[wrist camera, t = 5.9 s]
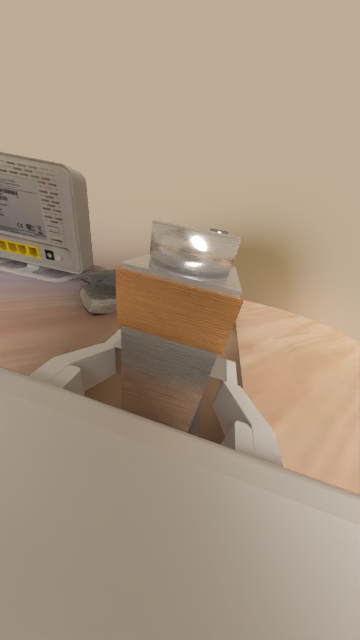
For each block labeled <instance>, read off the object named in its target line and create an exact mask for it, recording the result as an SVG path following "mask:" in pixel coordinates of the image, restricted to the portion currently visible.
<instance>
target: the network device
mask: <svg viewBox="0 0 360 640" xmlns="http://www.w3.org/2000/svg"><path fill="white" fill-rule="evenodd" d="M0 257H3V258H1V259H0V263H5V262H11V261H21V262H25V263H27V266H26V267H24V268H9V267H4V266H0V270H1V271H5V272H10V273H14V274H19V275H23V276H27V277H32V278H36V279H40V280H45V281H49V282H67V281H70V280H73V279H76V278H78V275H80V274H82V273H84V272H86V271H89V270H91V269H92V268H93V257H92V244H91V233H90V222H89V210H88V199H87V187H86V180H85V178H84V176H83V175H82V173H81V172H79V171H77V170H75V169H72V168H70V167H68V166H65V165H63V164H59V163H54V162H49V161H44V160H39V159H34V158H28V157H23V156H19V155H13V154H8V153H3V152H0ZM50 269H56V270H60V271H65V272H69V273H74V274H71V275H68V276H65V277H62V278H52V277H48V276H44V275H39V274H35V273H38V272H42V271H46V270H50Z"/></svg>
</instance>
